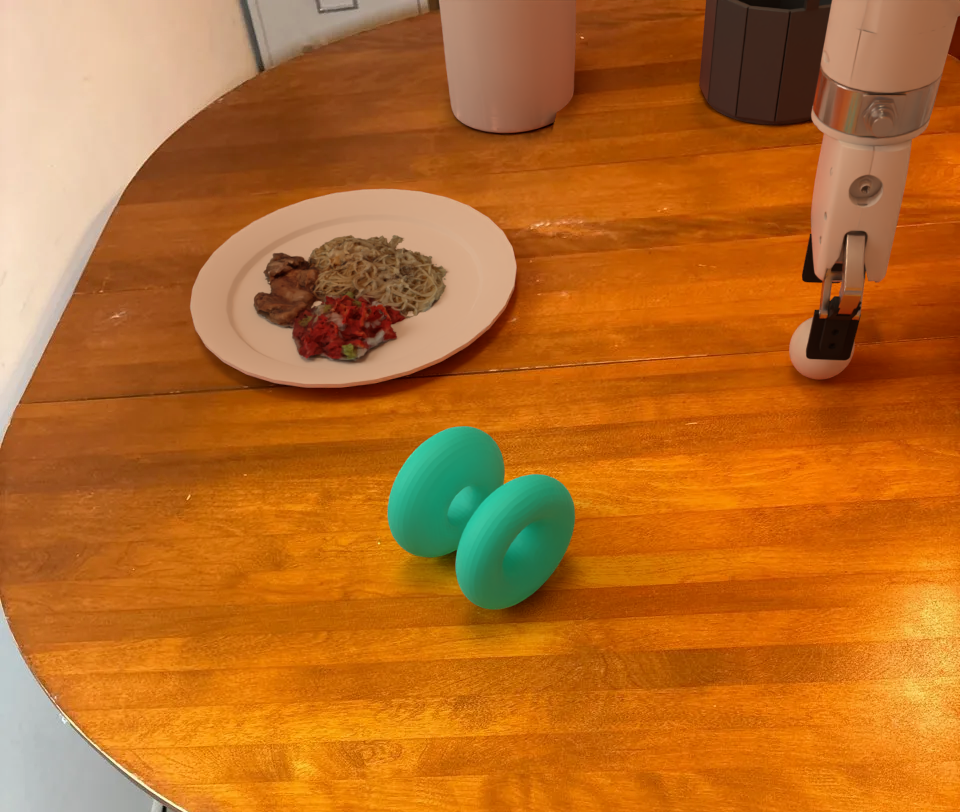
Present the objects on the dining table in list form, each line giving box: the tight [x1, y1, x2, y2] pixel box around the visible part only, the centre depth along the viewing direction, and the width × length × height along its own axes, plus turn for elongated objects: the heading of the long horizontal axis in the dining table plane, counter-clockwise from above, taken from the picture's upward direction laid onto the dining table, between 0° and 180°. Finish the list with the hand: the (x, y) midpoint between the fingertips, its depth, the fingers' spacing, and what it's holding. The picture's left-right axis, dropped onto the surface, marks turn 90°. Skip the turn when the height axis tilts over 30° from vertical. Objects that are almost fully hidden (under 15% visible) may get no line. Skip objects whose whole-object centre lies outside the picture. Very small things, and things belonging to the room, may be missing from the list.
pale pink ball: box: [788, 316, 856, 381], centre depth 85 cm, size 5×5×5 cm
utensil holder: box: [438, 0, 577, 134], centre depth 111 cm, size 15×15×18 cm
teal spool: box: [387, 425, 576, 611], centre depth 73 cm, size 10×10×10 cm
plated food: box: [189, 188, 518, 389], centre depth 97 cm, size 30×30×3 cm
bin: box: [698, 0, 832, 126], centre depth 107 cm, size 15×15×14 cm
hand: (824, 317), depth 82 cm, fingers open, 9 cm apart
